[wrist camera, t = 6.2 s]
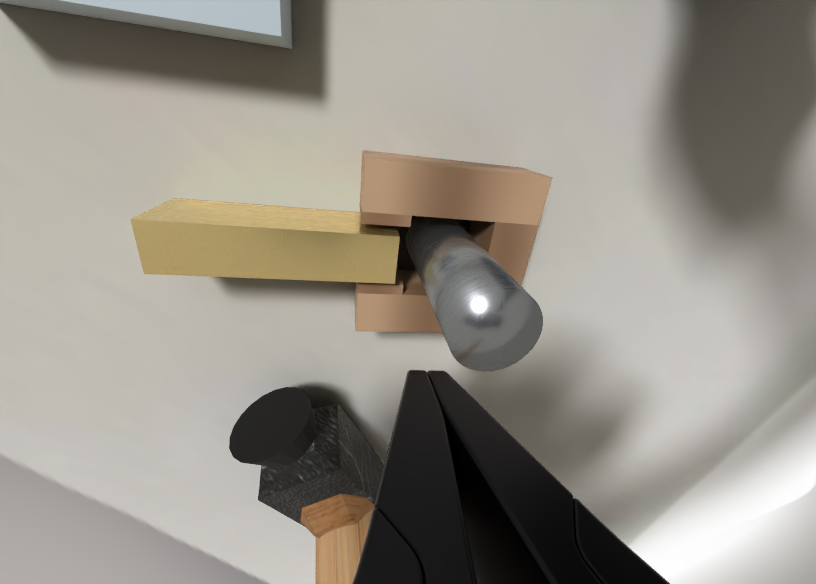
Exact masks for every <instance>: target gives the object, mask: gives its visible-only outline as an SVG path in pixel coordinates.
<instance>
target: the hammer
mask: <svg viewBox="0 0 816 584" xmlns="http://www.w3.org/2000/svg"><path fill="white" fill-rule="evenodd" d="M229 449H230V451H231V453H232V455H233V457H234V458H235V459H237V460H238V461H240V462H242V463H249V464H256V465H262V466H261V475H260V487H259V495H258V500H259V501H261V502H263V503H264V504H266V505H268V506H270V507H271V508H273V509H275V510H277V511H279V512H280V513H282V514H284V515H286V516H287V517H289V518H291V519H293V520H294V521H296V522H298V523H300V524H301V525H303V526H305V527H306V528H307V529H308V530H309V531H310V532H311V533H312V534H313V535H314V536H316V584H352V582H353V580H354V577H355V574H356V571H357V567H358V564H359V560H360V557H361V553H362V550H363V546H364V543H365V539H366V536H367V532H368V528H369V524H370V520H371V516H372V512H373V510H374V505H375V501H376V497H377V493H378V489H379V485H380V481H381V477H382V473H383V469H384V465H383V464H382V462H381V461H380V459H379V458H378V456H377V454H376V453H375V451H374V450H373V448H372V446H371V445H370V443H369V442H368V441H367V440H366V438H365V437H364V436H363V435H362V433H361V432H360V431H359V430H358V428H357V427H356V426H355V425H354V423H353V422H352V421H351V419H350V418H349V417H348V416H347V414H346V413H345V412H344V411H343V409H342V408H341V407H340V406H339V404H338V403H336V404H334V405H329V406H323V407H318V408H314V409H312V405H311V401H310V398H309V396H308V395H307V394H306V393H305V391H303V390H301V389H298V388H296V387H285V388H281V389H277V390H274V391H272V392H270V393H268V394H266V395H264V396H262V397H261V398H259V399H258V400H257V401H255V402H254V403H253V404H251V405H250V406H249V407H248V408H247V409H246V410H245V412H244V413H243V414H242V415H241V416H240V418H239V419H238V421H237V422H236V424H235V425H234V428H233V430H232V433H231V436H230V445H229Z"/></svg>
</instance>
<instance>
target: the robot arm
mask: <svg viewBox="0 0 816 584" xmlns="http://www.w3.org/2000/svg"><path fill="white" fill-rule="evenodd" d="M352 584H670V583H669V582H667V581H666V580H665V579H664V578H663V577H662V576H661V575H659V574H658V573H657V572H656V571H655V570H654V569H653V568H651V567H650V566H649V565H648V564H647V563H646V562H645V561H644V560H642V559H641V558H640V557H639V556H638V555H637V554H636V553H634V552H633V551H632V550H631V549H630V548H629V547H628V546H626V545H625V544H624V543H623V542H622V541H621V540H620V539H619V538H618V537H617V536H616V535H615V534H614V533H613V532H612V531H610V530H609V529H608V528H607V527H606V526H605V525H604V524H603V523H602V522H601V521H600V520H599V519H598V518H597V517H596V516H594V515H593V514H592V513H591V512H590V511H589V510H588V509H587V508H586V507H585V506H584V505H583V504H582V503H581V502H580V501H579V500H578V499H576V498H574V499H573V495H572V493H571V492H569V491H568V490H567V489H566V488H565V487H564V486H563V485H562V484H561V483H560V482H559V481H558V480H557V479H556V478H555V477H554V476H553V475H552V474H551V473H550V472H549V471H548V470H547V469H546V468H545V467H544V466H543V465H542V464H541V463H540V462H539V461H538V460H536V459H535V458H534V457H533V456H532V455H531V454H530V453H529V452H528V451H527V450H526V449H525V448H524V447H523V446H522V445H521V444H520V443H519V442H518V441H517V440H516V439H515V438H514V437H513V436H512V435H511V434H510V433H509V432H508V431H507V430H506V429H505V428H503V427H502V426H501V425H500V424H499V423H498V422H497V421H496V420H495V419H494V418H493V417H492V416H491V415H490V414H489V413H488V412H487V411H486V410H485V409H484V408H483V407H482V406H481V405H480V404H479V403H478V402H477V401H476V400H475V399H474V398H473V397H472V396H470V395H469V394H468V393H467V392H466V391H465V390H464V389H463V388H462V387H461V386H460V385H459V384H458V383H457V382H456V381H455V380H454V379H453V378H452V377H451V376H450V375H449V374H448V373H447V372H445V371H428V372H426V371H424V370H410V371H408V373H407V377H406V381H405V385H404V389H403V393H402V397H401V401H400V405H399V409H398V413H397V417H396V421H395V425H394V429H393V433H392V437H391V441H390V445H389V449H388V453H387V457H386V461H385V465H384V469H383V473H382V477H381V481H380V485H379V489H378V493H377V497H376V501H375V505H374V510H373V512H372V516H371V520H370V524H369V528H368V532H367V536H366V539H365V543H364V546H363V550H362V553H361V557H360V560H359V564H358V567H357V571H356V574H355V577H354V580H353V582H352Z"/></svg>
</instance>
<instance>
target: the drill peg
mask: <svg viewBox="0 0 816 584" xmlns="http://www.w3.org/2000/svg"><path fill="white" fill-rule="evenodd" d="M406 245H407V249H408V251H409V254H410V256H411V258H412V261H413V263H414V265H415V268H416V270H417V272H418V275H419V277H420V280H421V282H422V284H423V287H424V289H425V291H426V294H427V296H428V299H429V301H430V303H431V306H432V308H433V310H434V313H435V315H436V317H437V320H438V322H439V325H440V327H441V329H442V332H443V334H444V336H445V339H446V341H447V343H448V346H449V348H450V351H451V353H452V355H453V356H454V358H455V359H456V360H457V361H458V362H459V363H460V364H462V365H463V366H465V367H467V368H469V369H473V370H477V371H494V370H499V369H502V368H505V367H508V366H510V365H512V364H514V363H516V362H517V361H519V360H520V359H522V358H523V357H524V356H525V355H526V354H528V353H529V351H530V350H531V349H532V348H533V347H534V345H535V344H536V342H537V341H538V339H539V336H540V334H541V331H542V326H543V316H542V312H541V309H540V307H539V305H538V304H537V302H536V301H535V300H534V299H533V298H532V297H531V296H530V295H529V294H528V293H527V292H526V291H525V290H524V289H523V288H522V287H521V286H520V285H519V284H518V283H517V282H516V281H515V280H514V279H513V278H512V277H511V276H510V275H509V274H508V273H507V272H506V270H505V269H504V268H503V267H502V266H501V265H500V264H499V263H498V262H497V261H496V260H495V259H494V258H493V257H492V256H491V255H490V254H489V253H488V252H487V251H486V250H485V249H484V248H483V247H482V246H481V245H480V244H479V243H478V242H477V241H476V240H475V239H474V238H473V237H472V236H471V235H470V234H469V233H468V232H467V231H466V230H465V229H464V228H463V227H462V226H461V225H460V224H459V223H458V222H457V221H456V220H455V219H450V218H437V217H424V216H418V217H417V218H416V219H415V220H414V221H413V222H412V223H411V227H409V228H408V231H407V234H406Z"/></svg>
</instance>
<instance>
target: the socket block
mask: <svg viewBox="0 0 816 584" xmlns="http://www.w3.org/2000/svg"><path fill="white" fill-rule="evenodd" d="M551 181H552V177H549V176H546V175H543V174H539V173H536V172H533V171H530V170H527V169H524V168H518V167H509V166H500V165H490V164H481V163H472V162H463V161H454V160H445V159H436V158H427V157H418V156H408V155H399V154H390V153H381V152H372V151H363V153H362V173H361V192H360V214H361V224H375V225H389V226H403V227H411V219H412V216H424V217H437V218H450V219H463V220H471V225H470V230H469V234H470V235H471V236H472V237H473V238H474V239H475V240H476V241H477V242H478V243H479V244H480V245H481V246H482V247H483V248H484V249H485V250H486V251H487V252H488V253H489V254H490V255H491V256H492V257H493V258H494V259H495V260H496V261H497V262H498V263H499V264H500V265H501V266H502V267H503V268H504V269H505V270H506V272H507V273H508V274H509V275H510V276H511V277H512V278H513V279H514V280H515V281H516V282H517V283H518V284H519V285H520V286H521V284H522V281H523V277H524V274H525V271H526V267H527V264H528V260H529V257H530V253H531V250H532V246H533V243H534V240H535V236H536V233H537V229H538V226H539V222H540V219H541V215H542V212H543V209H544V205H545V202H546V198H547V195H548V191H549V188H550V185H551ZM355 331H370V332H442V329H441V327H440V325H439V322H438V320H437V317H436V315H435V313H434V310H433V308H432V306H431V303H430V301H429V299H428V296H427V294H426V291H425V289H424V287H423V284H422V282H421V280H420V277H419V275H418V272H417V271H416V270H399V269H398V266H397V268H396V277H395V284H388V283H362V282H356V289H355Z"/></svg>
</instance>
